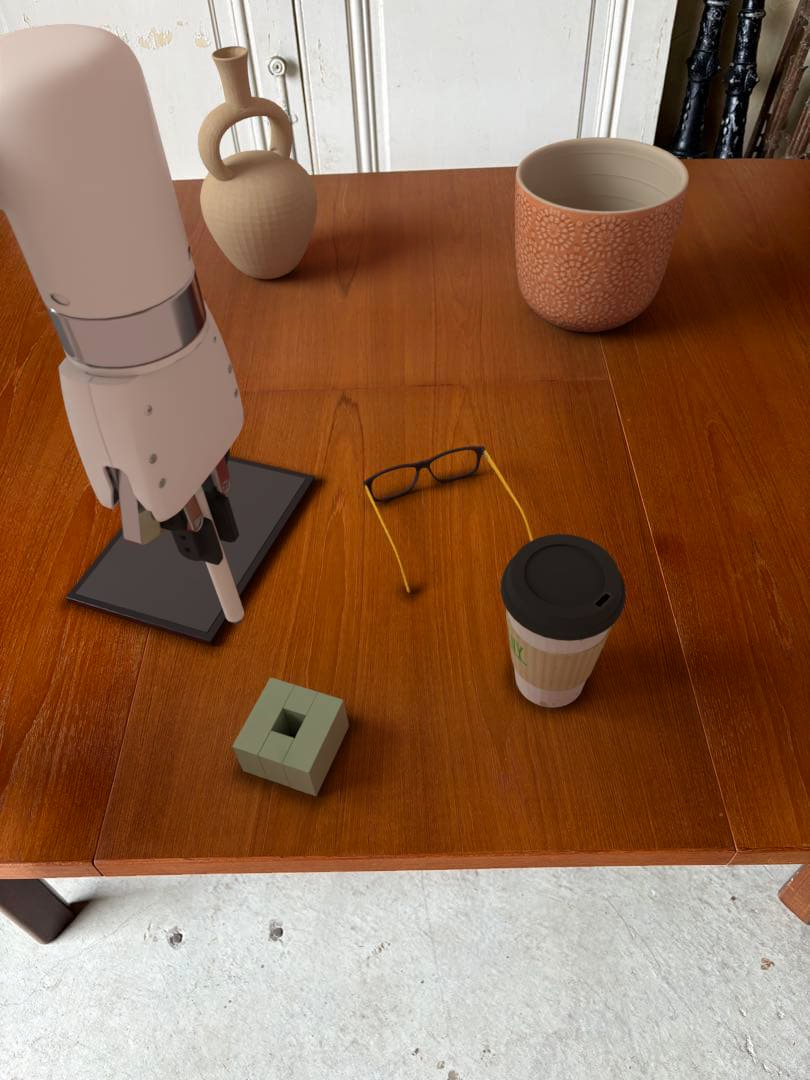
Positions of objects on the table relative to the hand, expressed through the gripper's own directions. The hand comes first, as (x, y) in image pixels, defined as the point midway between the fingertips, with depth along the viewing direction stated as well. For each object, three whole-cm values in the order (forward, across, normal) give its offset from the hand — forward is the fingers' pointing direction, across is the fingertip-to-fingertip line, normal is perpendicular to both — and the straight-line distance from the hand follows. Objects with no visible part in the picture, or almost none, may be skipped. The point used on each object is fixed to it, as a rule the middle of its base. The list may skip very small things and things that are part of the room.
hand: (209, 545), depth 55 cm
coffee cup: (+24, -12, +22) cm, 35 cm away
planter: (+24, -72, +12) cm, 77 cm away
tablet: (+24, -17, -18) cm, 34 cm away
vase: (+24, -70, -36) cm, 82 cm away
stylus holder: (+24, +2, +4) cm, 24 cm away
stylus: (+9, 0, 0) cm, 9 cm away
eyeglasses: (+24, -27, +7) cm, 37 cm away
